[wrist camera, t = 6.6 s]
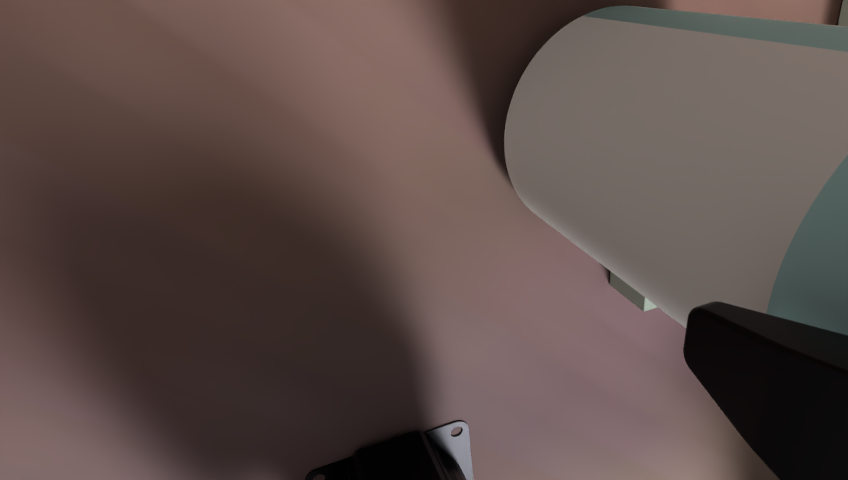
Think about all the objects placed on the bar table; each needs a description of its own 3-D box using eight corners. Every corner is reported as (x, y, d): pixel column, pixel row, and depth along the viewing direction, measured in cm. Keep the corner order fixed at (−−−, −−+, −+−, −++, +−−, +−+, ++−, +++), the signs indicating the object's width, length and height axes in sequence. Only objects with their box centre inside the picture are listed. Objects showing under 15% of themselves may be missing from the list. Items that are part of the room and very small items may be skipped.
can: (675, 192, 21) (1113, 403, 11) (502, 243, 20) (826, 547, 9) (690, -14, 18) (1339, 13, 8) (484, 27, 16) (955, 131, 6)
